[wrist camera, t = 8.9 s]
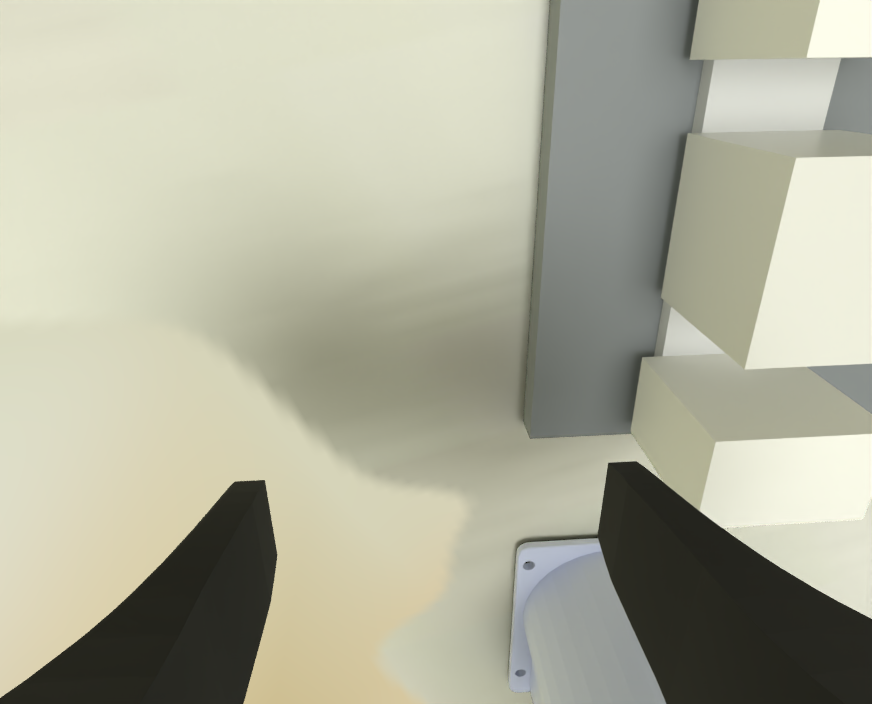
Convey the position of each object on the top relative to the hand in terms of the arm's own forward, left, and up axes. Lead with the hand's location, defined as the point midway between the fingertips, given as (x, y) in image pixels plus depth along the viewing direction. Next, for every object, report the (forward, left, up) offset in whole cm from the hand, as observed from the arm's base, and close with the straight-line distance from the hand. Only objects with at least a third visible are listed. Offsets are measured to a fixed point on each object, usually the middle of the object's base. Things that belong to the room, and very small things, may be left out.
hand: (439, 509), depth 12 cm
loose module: (+4, -10, -8) cm, 13 cm away
